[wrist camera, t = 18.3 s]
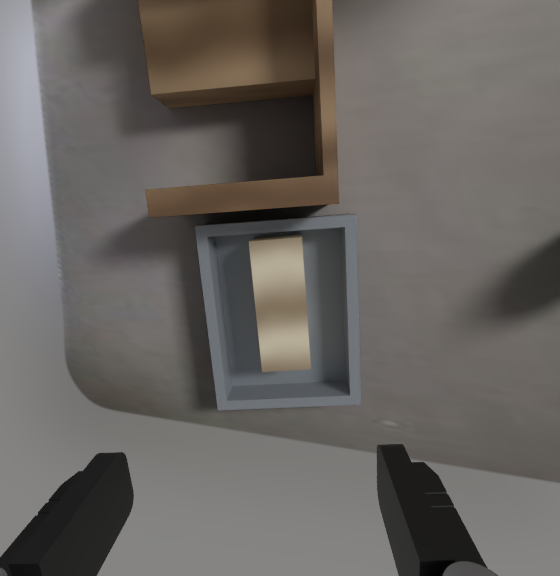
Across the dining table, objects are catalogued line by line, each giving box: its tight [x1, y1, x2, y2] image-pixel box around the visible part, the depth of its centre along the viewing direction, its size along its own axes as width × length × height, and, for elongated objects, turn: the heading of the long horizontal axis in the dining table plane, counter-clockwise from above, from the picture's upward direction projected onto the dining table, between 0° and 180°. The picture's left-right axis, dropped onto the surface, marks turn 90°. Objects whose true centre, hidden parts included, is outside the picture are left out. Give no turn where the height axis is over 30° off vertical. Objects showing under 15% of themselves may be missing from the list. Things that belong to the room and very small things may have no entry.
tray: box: [195, 214, 361, 410], centre depth 33 cm, size 18×14×4 cm
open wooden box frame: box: [138, 0, 339, 218], centre depth 27 cm, size 21×14×8 cm, turn 4°
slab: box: [249, 234, 311, 372], centre depth 32 cm, size 12×4×4 cm, turn 5°
